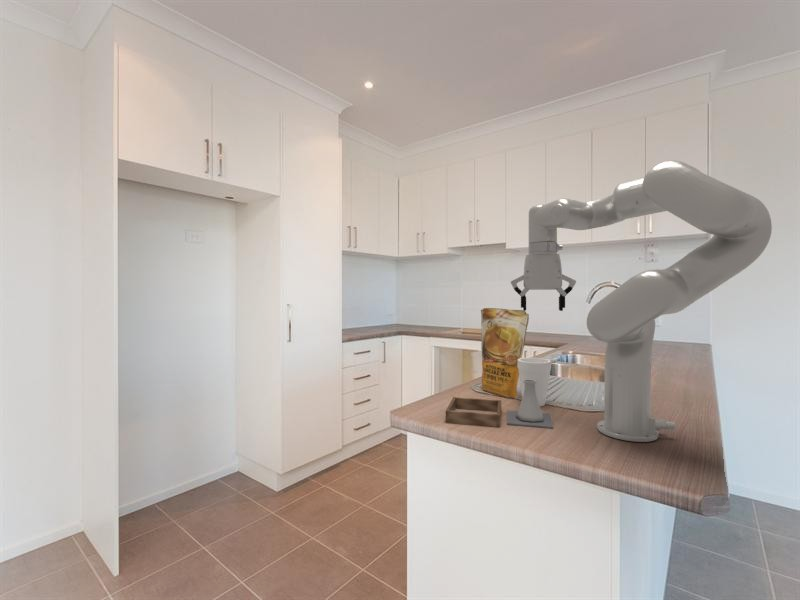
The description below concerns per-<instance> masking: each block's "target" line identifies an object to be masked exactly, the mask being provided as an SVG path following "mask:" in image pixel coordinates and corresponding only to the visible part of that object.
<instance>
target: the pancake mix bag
mask: <svg viewBox="0 0 800 600" xmlns="http://www.w3.org/2000/svg"><path fill="white" fill-rule="evenodd" d="M480 314H481V316H480V317H481V325H480V326H481V334H480V335H481V336H480V337H481V345H480V346H481V348H480V349H481V366H482V367H481V368H482V373H481V385H480V388H481V389H482V390H483V391H484V392H487V393H490V394H494V395H495V396H496V395H498V396H500V397H503V398H506V399H507V398H508V399H512V398H513V399H518V397H519V396H518V392H517V387H518V383H519V379H520V377H519V369H518V359H519V358H523V353H524V348H525V343H526V335H527V330H528V326H529V325H528V324H529V319H530V318H529V313H527V312H526V310H525V311H524V310H523V309H506V308H496V307H494V308H493V307H484V308H482V309H480Z"/></svg>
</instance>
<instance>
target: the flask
mask: <svg viewBox="0 0 800 600" xmlns="http://www.w3.org/2000/svg"><path fill="white" fill-rule="evenodd" d="M524 383H525V389H524V394H523V398H521V401H520V404H519V407H518V409H517V411H518V412H517V414H516V417H517V418H518V419H520V420H522V421H531V422H537V421H543V419H544V416H543V413H544V412H543V411H542V409H541V406H540V405H539V402H538V399H537V396H536V392H535V383H536V381H535V380H532V379H524Z"/></svg>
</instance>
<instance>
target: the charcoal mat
mask: <svg viewBox="0 0 800 600" xmlns="http://www.w3.org/2000/svg"><path fill="white" fill-rule="evenodd" d="M517 412H518V410H507V415H506V417H507V418H506V425H507V426H517V427H528V428H541V429H554V424H553V421H552V418H551V415H550V413H547V412H542V413H543V416H544V419H543V421H537V422H531V421H522V420H520V419H518V418H517V417H516V414H517Z"/></svg>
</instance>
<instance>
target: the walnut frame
mask: <svg viewBox="0 0 800 600" xmlns="http://www.w3.org/2000/svg"><path fill="white" fill-rule="evenodd" d="M456 409H460V410H456ZM462 410H471V411H462ZM472 410H474V411H475V412H474V411H473V412H472ZM476 411H486V412H476ZM487 412H496V413H487ZM501 418H502V399H501V400H500V399H488V398H487V399H485V398H469V397H457V396H455V397H454V396H453V397H452V399H451V400H450V402H449V404H448V406H447V408H446V410H445V423H446V424H449V423H450V424H459V425H470V426H480V427H481V426H483V427H494V428H501Z"/></svg>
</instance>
